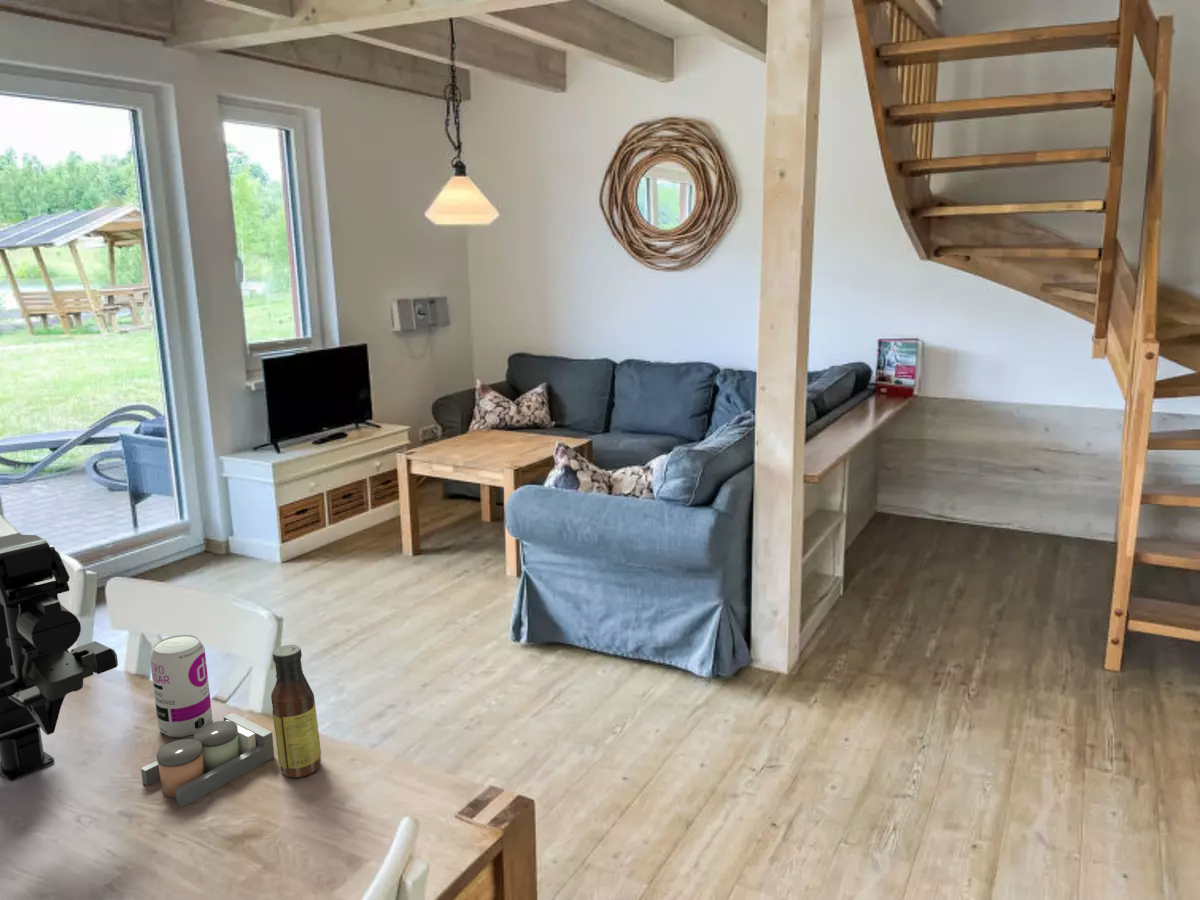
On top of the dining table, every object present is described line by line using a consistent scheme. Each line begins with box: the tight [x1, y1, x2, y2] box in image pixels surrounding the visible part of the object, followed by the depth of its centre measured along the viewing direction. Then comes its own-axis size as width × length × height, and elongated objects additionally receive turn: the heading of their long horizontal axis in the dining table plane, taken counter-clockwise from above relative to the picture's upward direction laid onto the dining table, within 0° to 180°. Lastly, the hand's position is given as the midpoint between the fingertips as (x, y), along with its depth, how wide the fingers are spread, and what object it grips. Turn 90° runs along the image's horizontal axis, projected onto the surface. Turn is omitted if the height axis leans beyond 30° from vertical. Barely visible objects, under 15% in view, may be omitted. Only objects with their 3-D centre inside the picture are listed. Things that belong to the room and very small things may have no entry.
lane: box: [140, 712, 275, 808], centre depth 140 cm, size 10×16×4 cm
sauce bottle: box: [270, 644, 322, 778], centre depth 138 cm, size 6×6×20 cm
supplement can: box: [149, 634, 213, 738], centre depth 151 cm, size 8×8×15 cm
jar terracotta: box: [156, 738, 205, 798], centre depth 136 cm, size 6×6×6 cm
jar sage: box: [193, 720, 240, 773], centre depth 141 cm, size 6×6×6 cm
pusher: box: [226, 720, 256, 755], centre depth 144 cm, size 7×1×4 cm, turn 55°
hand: (49, 733), depth 128 cm, fingers closed
